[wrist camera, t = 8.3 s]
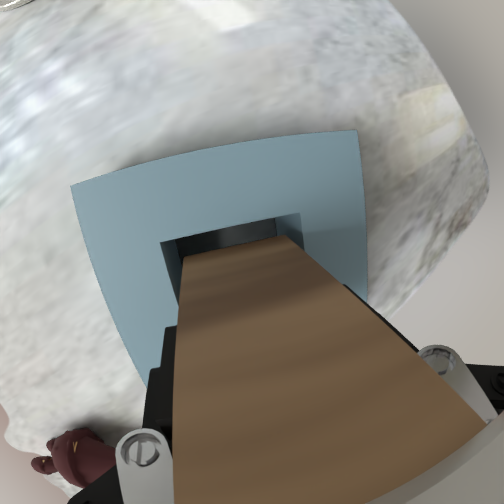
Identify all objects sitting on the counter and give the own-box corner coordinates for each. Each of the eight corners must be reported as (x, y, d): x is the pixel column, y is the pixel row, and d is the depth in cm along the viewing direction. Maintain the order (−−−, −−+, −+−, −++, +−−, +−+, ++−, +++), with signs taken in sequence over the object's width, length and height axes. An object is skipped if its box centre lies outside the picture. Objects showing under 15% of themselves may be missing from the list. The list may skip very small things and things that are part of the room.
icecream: (118, 461, 14) (6, 443, 14) (163, 513, 15) (46, 493, 15) (143, 411, 21) (37, 412, 21) (175, 463, 22) (69, 459, 22)
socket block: (104, 177, 15) (70, 186, 10) (315, 135, 16) (356, 129, 12) (162, 357, 19) (157, 407, 15) (332, 316, 21) (364, 354, 16)
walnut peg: (184, 256, 12) (183, 591, 1) (285, 234, 13) (514, 454, 2) (208, 341, 14) (251, 590, 3) (295, 319, 14) (425, 529, 3)
